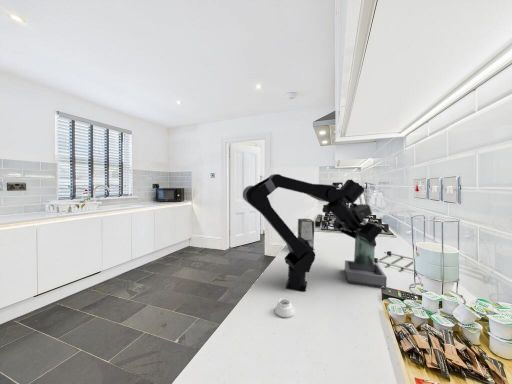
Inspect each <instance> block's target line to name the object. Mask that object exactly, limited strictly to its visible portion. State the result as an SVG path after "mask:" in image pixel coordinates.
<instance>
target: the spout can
mask: <svg viewBox="0 0 512 384" xmlns="http://www.w3.org/2000/svg"><path fill="white" fill-rule="evenodd" d="M363 219H364V221H363V223H362V224H363V225H366V224H367V223H368V222H369V220H368V219H365V218H363ZM375 250H376V246H375V247H374V246H372V245H370V244H368V243H366V242H364V241H362V240H360V237H359V230H357V231H356V232H355V239H354V255H353V256H354V257H353V261H354V262H355V263H357V264H360V265H364V266H373V265H374V264H375V253H376V252H375Z"/></svg>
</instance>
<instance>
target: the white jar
mask: <svg viewBox="0 0 512 384" xmlns="http://www.w3.org/2000/svg"><path fill="white" fill-rule="evenodd" d="M274 312H275V314H276V315H278V316H279V317H282V318H291V317H293V316H294V313H295V310H294V307H293V305H292V303H291V301H290V300H289V299H287V298H280V299H279V301H278V303H277V304H276V306H275V308H274Z"/></svg>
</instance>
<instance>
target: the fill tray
mask: <svg viewBox="0 0 512 384" xmlns="http://www.w3.org/2000/svg"><path fill="white" fill-rule="evenodd" d="M344 274H345V278H346V280H347V281H346V282H347V284H348V285H349V284H350V285H355V286H356V285H357V286H362V287H363V286H364V287H370V288H377V289H382V288H381V287H382V286H384V287H386V288H387V281H388V280H387V277H388V276H386V274H385V273H384V271H383V270H382V268H381V267H380V266H379V264H378V263H374V265H373V266H364V265H360V264H357V263H355V262H354V260H346V259H345V260H344Z"/></svg>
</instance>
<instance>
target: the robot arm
mask: <svg viewBox="0 0 512 384" xmlns="http://www.w3.org/2000/svg"><path fill="white" fill-rule="evenodd" d="M278 188H280V189H285V190H288V191H293V192H296V193H301V194H305V195H307V196H310V197H311V198H313V199H315V200H317V201H321V202H325V203H326V204H323V205H322V213H326V214H330V213H331V214H332V215H333V216H334V217H335V219H334V222H333V223H332V225H333V226H332V227H333V229H334V230H336V231H338V232H340V233H342V234H344V235H346V236H349V237H350V238H353V240H355V232H356V231H357V230H359V237H360V240H362V241H364V242H366V243H368V244H370V245H372V246H374V247H375V248H376V246H377V241H376V238H377V237H378V236H379V235H380V233H381V232H382V231H383V227H382V226H381V225H380V224H378V223H374V222H369V221H368V223H367V224H366V225H363V224H364V219H365V218H367V217H369V216H371V215H372V214H373V211H372V209H371V206H370V205H369V204H364V203H363V204H360V203H359V204H357V203H355V202H356V201H357V200H358V199H359V198H360V197H361V195H362V194H364V192H365V188H364V187H363V186H362V185H360V184H359V183H357V182H356V181H354V180H353V179H347V180H346V181H345V182H344V184H343V185H342V186H341V187H340V188H338V187H336V186H335V185H334V184H321V183H319V184H318V183H310V182H306V181H303V180H300V179H295V178H291V177H287V176H283V175H281V174H279V173H276V174H275V173H273V174H271V175H269V176H268V177H267V178H265V179H263V180H261V181H260V182H259V181H258V183H256V184H255V185H248V186H246V187H245V188H244V190H243V191H242V198H243V200H244V201H245V202H246V203H247V204H248V205H250V206H251V207H252V208H253V209H255V210H256V211H257V212H259V213H260V214H261V215H262V216H263V217H264V219H265V220H266V221H267V223H268V224H269V225H270V226H271V228H273V230H274V231H275V232H276V233H277V234H278V236H280V238H281V239H282V241H283V242H285V243H286V244H285V245H286V246H287V249H288V251H289V252H288V253H287V254H286V255H285V257H284V261H285V263H286V265H288V267H287V268H288V269H287V271H288V272H287V281H286V283H285V287H284V288H285V289H288V290H289V289H290V290H295V291H302V292H306V291H307V286H308V281H307V280H306V276H307V275H306V273H309V272H310V271H311V268H312V265H313V263H314V262H315V259H316V253H315V248H314V247H313V248H312V247H311V246H310V244H309V243H308V241H307V240H305V239H303V238H302V237H300V236H299V237H298V236H297V235H295V233H294V232H293V230H291V228H290V227H289V226H288V225H287V223H286V222H285V221H284V220H283V219H282V218H281V217H280V215H279V214H278V213H277V211H275V209H274V208H273V206H272V204H271V202H270V199H269V198H268V196H269V195H271V194H272V193H273V192H274V191H275V190H277V189H278ZM348 204H349V205H348Z"/></svg>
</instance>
